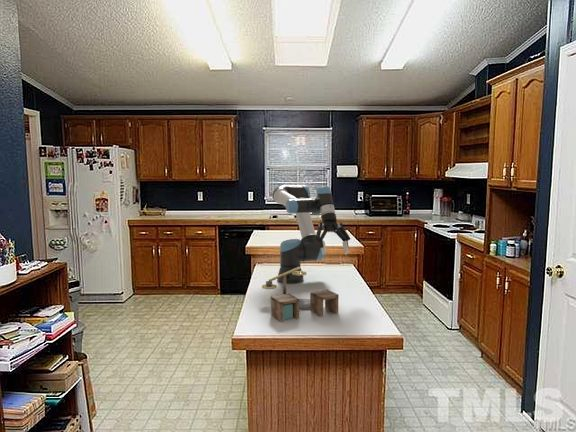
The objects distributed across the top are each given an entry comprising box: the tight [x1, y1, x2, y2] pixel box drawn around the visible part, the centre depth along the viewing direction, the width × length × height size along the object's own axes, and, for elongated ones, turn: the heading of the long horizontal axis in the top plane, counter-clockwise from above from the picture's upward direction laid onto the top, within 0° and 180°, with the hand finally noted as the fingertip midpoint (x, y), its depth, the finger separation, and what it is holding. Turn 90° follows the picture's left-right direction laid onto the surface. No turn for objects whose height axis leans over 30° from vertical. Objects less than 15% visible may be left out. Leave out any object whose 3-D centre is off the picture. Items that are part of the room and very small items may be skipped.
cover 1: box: [270, 293, 300, 323], centre depth 171 cm, size 9×9×8 cm
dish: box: [298, 298, 310, 311], centre depth 186 cm, size 12×12×1 cm
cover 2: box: [309, 289, 339, 318], centre depth 177 cm, size 9×9×8 cm
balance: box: [261, 266, 307, 295], centre depth 193 cm, size 8×23×16 cm, turn 117°
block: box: [283, 303, 294, 321], centre depth 171 cm, size 5×5×6 cm
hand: (335, 253), depth 200 cm, fingers open, 13 cm apart
